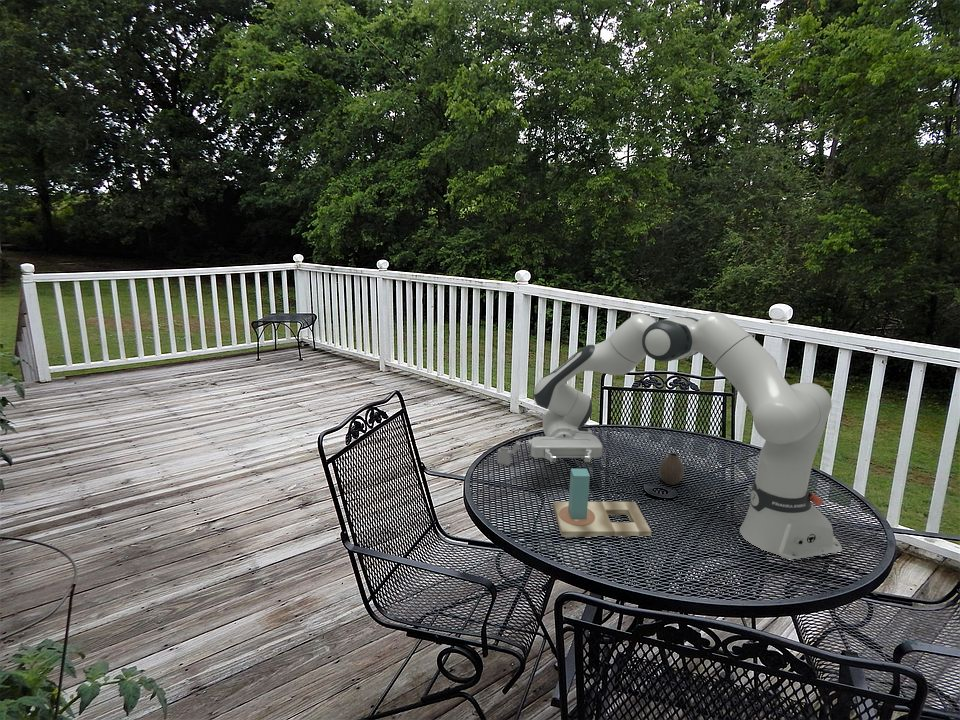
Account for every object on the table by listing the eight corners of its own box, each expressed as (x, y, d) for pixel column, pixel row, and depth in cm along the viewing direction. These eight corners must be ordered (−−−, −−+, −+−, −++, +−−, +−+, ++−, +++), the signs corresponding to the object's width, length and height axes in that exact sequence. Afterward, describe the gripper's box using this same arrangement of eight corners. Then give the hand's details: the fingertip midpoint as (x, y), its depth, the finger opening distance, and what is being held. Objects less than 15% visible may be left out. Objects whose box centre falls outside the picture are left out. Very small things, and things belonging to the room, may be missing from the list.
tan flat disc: (590, 506, 150) (590, 505, 150) (598, 525, 142) (598, 524, 141) (556, 506, 150) (556, 505, 150) (562, 525, 141) (562, 524, 141)
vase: (677, 489, 164) (681, 462, 161) (654, 482, 168) (657, 455, 165) (685, 480, 169) (689, 453, 166) (662, 473, 173) (666, 447, 170)
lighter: (496, 463, 178) (497, 439, 175) (498, 460, 179) (499, 437, 177) (519, 466, 176) (520, 443, 173) (520, 464, 177) (521, 440, 175)
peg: (583, 510, 148) (586, 468, 144) (586, 519, 144) (589, 476, 140) (568, 510, 148) (570, 468, 144) (570, 518, 144) (573, 476, 140)
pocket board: (634, 508, 153) (635, 501, 153) (650, 538, 140) (651, 531, 139) (553, 508, 153) (553, 501, 152) (561, 538, 139) (562, 531, 139)
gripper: (527, 429, 168) (533, 449, 154) (596, 429, 168) (607, 449, 155) (526, 448, 169) (532, 470, 156) (595, 448, 170) (606, 470, 157)
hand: (570, 460), depth 156 cm, fingers open, 8 cm apart
